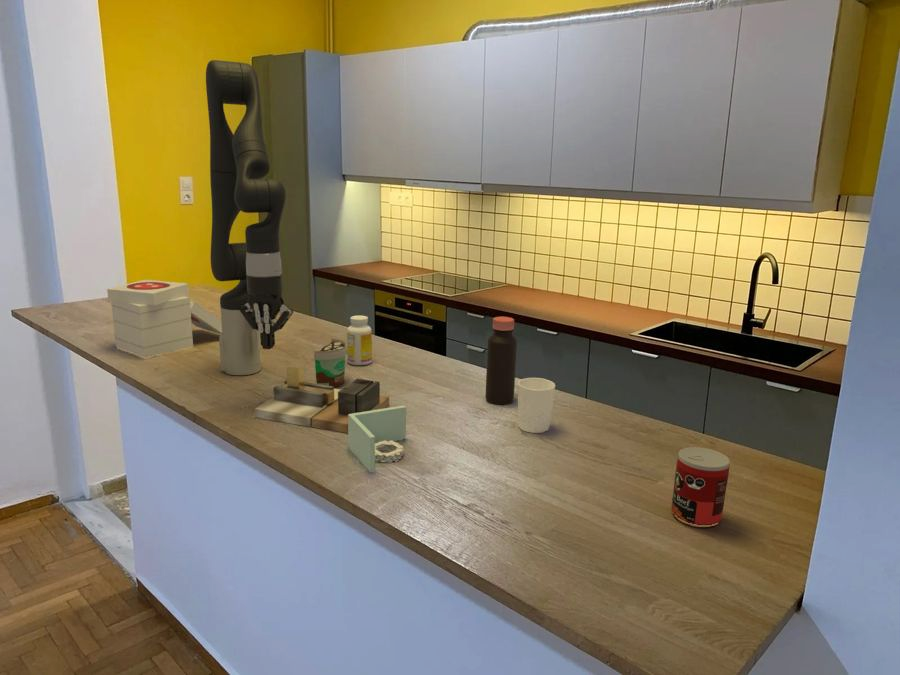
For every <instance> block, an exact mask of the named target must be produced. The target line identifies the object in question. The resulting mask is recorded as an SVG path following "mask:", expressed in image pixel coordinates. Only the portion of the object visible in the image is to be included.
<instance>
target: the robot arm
mask: <svg viewBox="0 0 900 675" xmlns="http://www.w3.org/2000/svg"><path fill="white" fill-rule="evenodd" d="M205 89H206V100H207V110H208V111H207V112H208V123H209V172H210V173H209V174H210V175H209V176H210V194H211V196H210V197H211V235H210V236H211V238H210V268H211V272H212V275H213V277H214V279H215V280H217V281H218V282H233V281H238V284H237V285H235V287H233V288H232V289H231V290H228V291H226V292H224V293H222V294H221V295H220V297H219V307H220V319H221V322H222V334H220V335H219V336H218V342H219V344H218V345H219V357H220V370H221V372H224V373H225V374H228V375H230V376H231V375H232V376H247V375H252V374H256V373H259V372H260V371H261V370H262V363H261V362H262V360H261V359H262V358H261V348H262V349H264V350H271V349H273V348H274V347H275V345H276V343H275V342H276V335H275V332H278V331H280V330H282V329H283V328H284V327H285V325H286V324H287V322H288V321H289V320H290V318H291V316H293V314H294V310H293V309H292V308H288V307H287V306H286V305H285V301H284V299H283V268H282V259H281V252H280V226H281V220H282V216H283V211H284V208H285V204H286V198H287V194H286V189H285V187H284V185H283V183H282V182H281V181H280V180H279V179H275V178H265V177H266V176H267V175H268V174H269V173H270V169H271V166H270V160H269V156H268V150H267V147H266V143H265V138H264V131H263V116H262V107H261V106H262V105H261V96H260V94H261V93H260V84H259V78H258V75H257V71H256V69H255V68H254V66H253V65H252V64H250V63H247V62H246V63H244V62H239V61H229V60H219V59H218V60H217V59H212V60H210V61H208V62H207V65H206V68H205ZM224 104H225V105H235V106H236V105H237V106H239V105H240V106H245V113H244V115H243V117H242V119H241V120H240V122H239V123H238V125H237V127H236V128H235V131H234V132H233V131H232V130H231V127H230V126H229V123H228V121H227V118H226V115H225V109H224ZM240 212H242V213H246V214H252V213H254V214H257V213H258V214H259V213H267V215H266V217H265V219H264V220H262V221H260V222H256V223H253V224H252V223H251V224H249V225H247V226H246V227H245V231H244V232H245V234H244V235H245V237H244V238H245V242H233V243H231V242H230V236H231V231H232V228H233V225H234V222H235V220H236V219H237V217H238V216H239V214H240ZM278 315H279V317H278Z"/></svg>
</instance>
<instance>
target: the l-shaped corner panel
mask: <svg viewBox="0 0 900 675" xmlns="http://www.w3.org/2000/svg"><path fill="white" fill-rule="evenodd" d="M347 434H348V440H347V441H348V445H347V446H348V449H349V450H350V451H351V452H352V454H354V455H355V457H356V458H357V459H358V460H359V462H360V463H361V464H362V465H363V467H365V468H366V470H367V471H368V472H369V473H370V474H371V473H376V463H378V462H380V463H386V464H387V463H388V464H392V463H393V461H395V463H398V462H399V461H400V459H402V457H403V456H404V453H405V448H404V446H403V445H401V444H400V443H399V442H398V441H397V440H399V441H404V440H406V439H407V407H406V405H398V406H392V407H386V408H384V409H378V410H372V411H365V412H359V413H353V414H348V433H347ZM403 439H404V440H403ZM382 451H383V452H382ZM397 461H398V462H397Z"/></svg>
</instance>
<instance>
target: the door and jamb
mask: <svg viewBox="0 0 900 675" xmlns="http://www.w3.org/2000/svg"><path fill="white" fill-rule="evenodd" d="M304 382H305V386H309V387H315V388H322V389H329V390H334V401H333V402H332V403H330V404H326V403H324V393H320V392H313V391H307V390H300V389H294V388H287V387H282V385H275V386H274V387H273V397H272V398H270V399H268V400H267V401H265V402H264V403H262V404H260V405H258V406H257V407H255V408H254V418H257V419H262V420H269V421H273V422H280V423H286V424H293V425H297V426H304V427H310V428H316V429H320V430H328V431H334V432H339V433H346V434H348V414H353V413H359V412H365V411H372V410H378V409H384V408H388V407H389V406H390V396H387V395H380V392H381V391H380V389H381V388H380V387H381V384H380V383H381V381H374V380H368V379H364V378H356V379H354V380H353V381H352V382H350V383H348V384H347V385H346V386H345V387H343V388H341V389H339V388H334V386H327V385H320V384H316V383H314V382H313V383H312V382H306V381H304ZM285 384H287V379H286V380H284V385H285ZM388 405H389V406H388Z"/></svg>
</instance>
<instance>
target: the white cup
mask: <svg viewBox="0 0 900 675" xmlns="http://www.w3.org/2000/svg"><path fill="white" fill-rule="evenodd" d="M555 390H556V383H555V382H554V381H552V380H548V379H546V378H542V377H526V378H522V379H519V380H518V381H517V417H518V426H517V427H518V428H519V429H520V430H521V431H524V432H527V433H532V434H542V433H546V432H547V431H549V430H550V427H551V426H550V425H551V417H552V413H553V407H554V397H555ZM545 431H546V432H545Z"/></svg>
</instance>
